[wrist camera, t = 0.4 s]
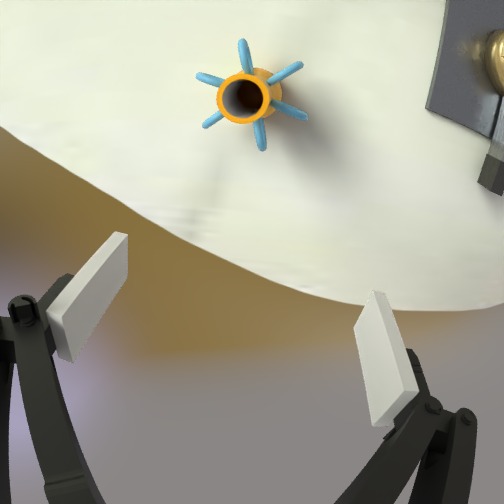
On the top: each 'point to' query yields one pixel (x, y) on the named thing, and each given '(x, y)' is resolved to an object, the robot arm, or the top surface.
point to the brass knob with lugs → (500, 153)
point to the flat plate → (467, 65)
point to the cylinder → (251, 95)
